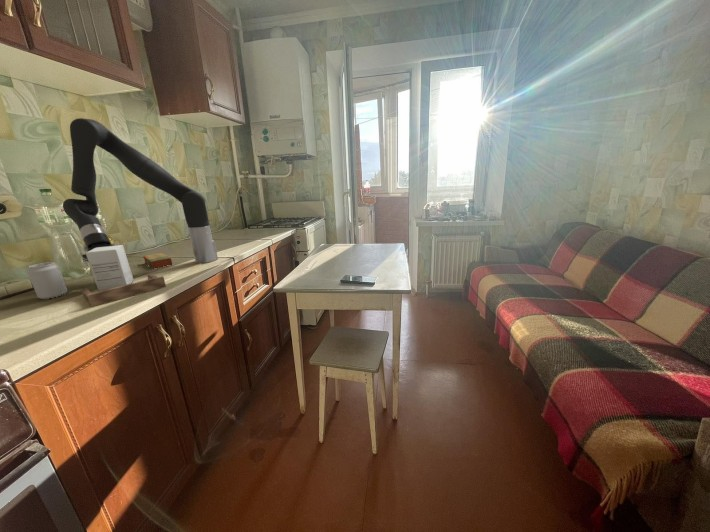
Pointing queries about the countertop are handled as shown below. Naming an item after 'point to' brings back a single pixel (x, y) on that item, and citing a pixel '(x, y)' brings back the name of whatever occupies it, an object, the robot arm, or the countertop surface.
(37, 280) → the can
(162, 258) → the carton
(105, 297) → the wooden tray
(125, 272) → the supplement box
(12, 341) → the countertop surface
